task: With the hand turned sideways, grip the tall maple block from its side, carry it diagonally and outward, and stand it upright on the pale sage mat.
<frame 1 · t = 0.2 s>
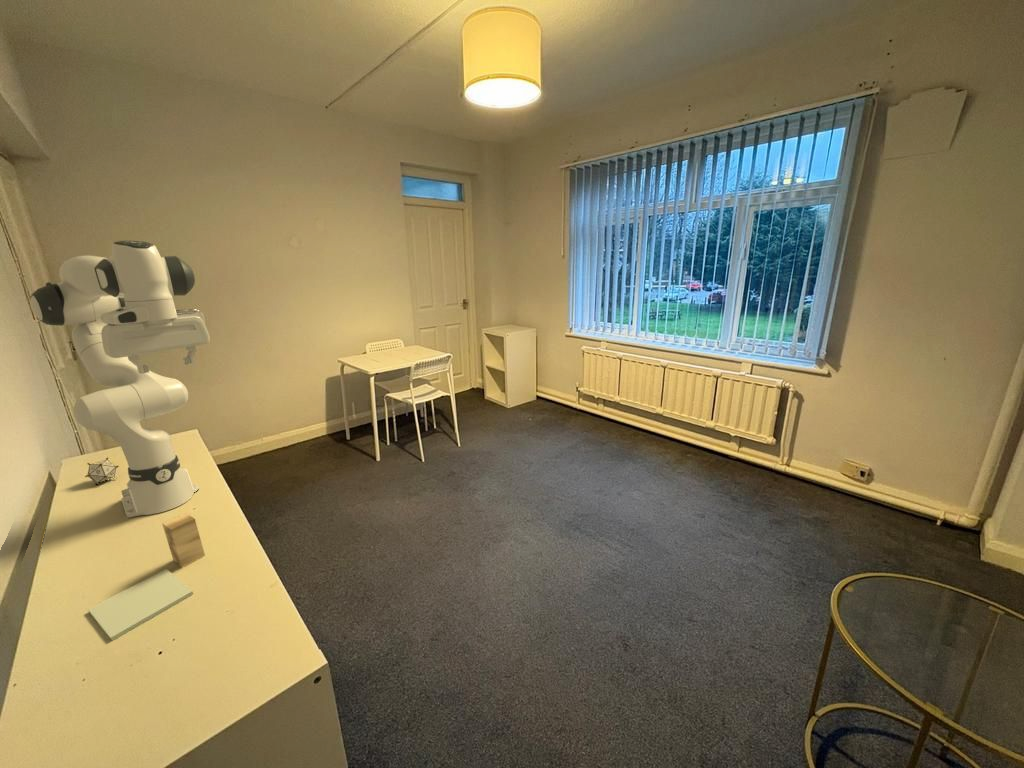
hand: (167, 368, 102), 47 cm above the sideboard, tool pointing down, fingers open, 8 cm apart
maple block: (189, 558, 105), on the sideboard
sage mat: (142, 602, 91), on the sideboard
game die: (105, 482, 145), on the sideboard
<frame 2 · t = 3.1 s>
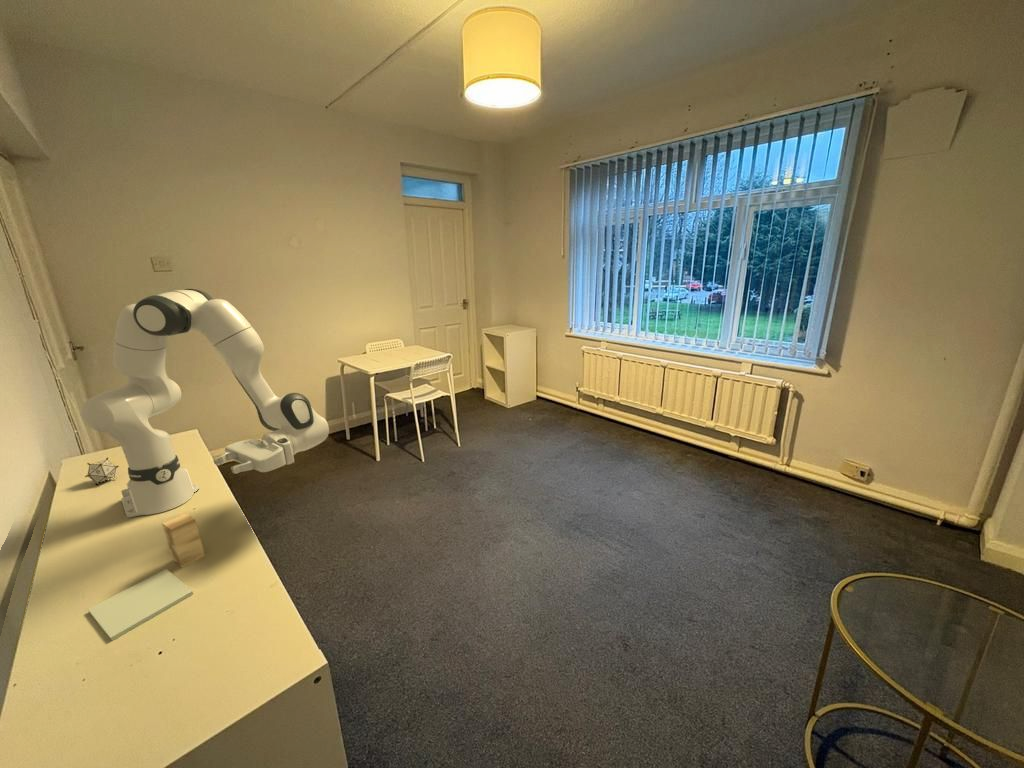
hand: (223, 466, 109), 20 cm above the sideboard, tool horizontal, fingers open, 8 cm apart
nothing on the sideboard moved.
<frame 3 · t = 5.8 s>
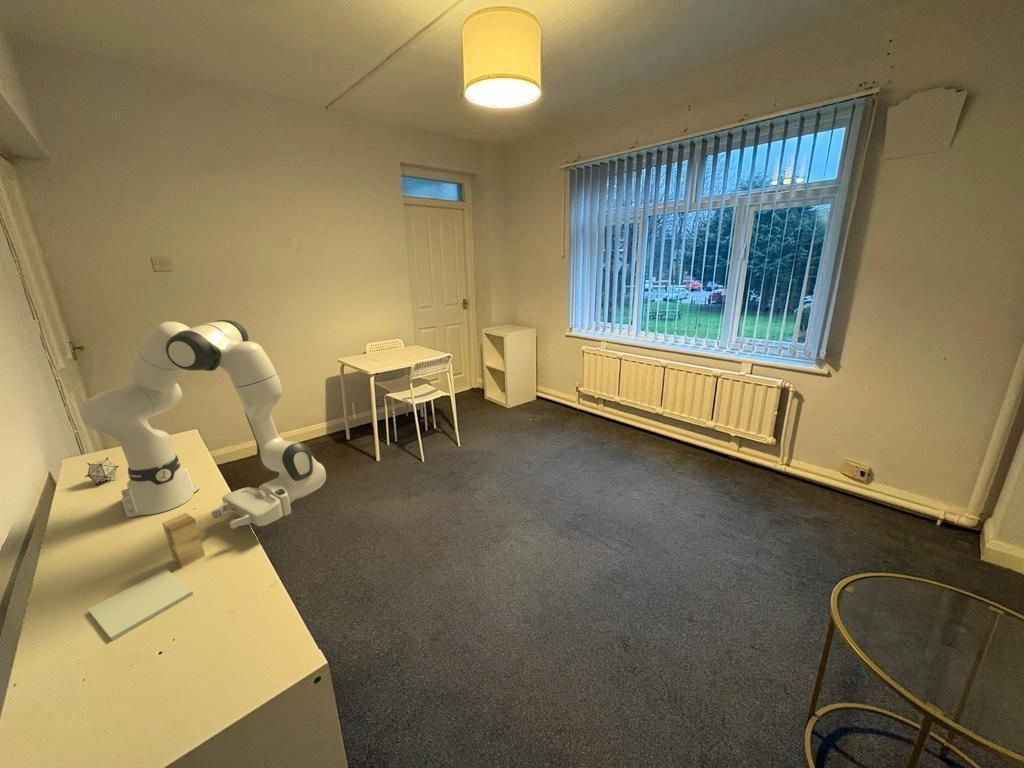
hand: (221, 520, 110), 6 cm above the sideboard, tool horizontal, fingers open, 8 cm apart
nothing on the sideboard moved.
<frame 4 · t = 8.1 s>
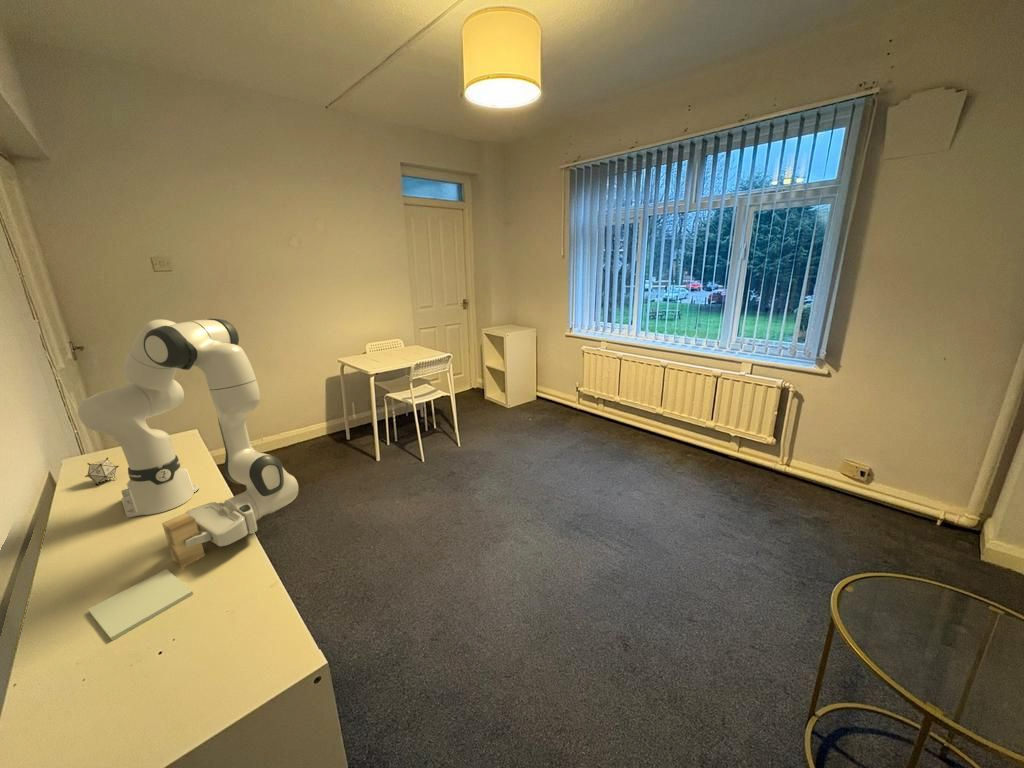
hand: (179, 539, 102), 6 cm above the sideboard, tool horizontal, fingers closed on maple block, 5 cm apart
maple block: (189, 558, 105), on the sideboard, touching gripper
everything else where it was.
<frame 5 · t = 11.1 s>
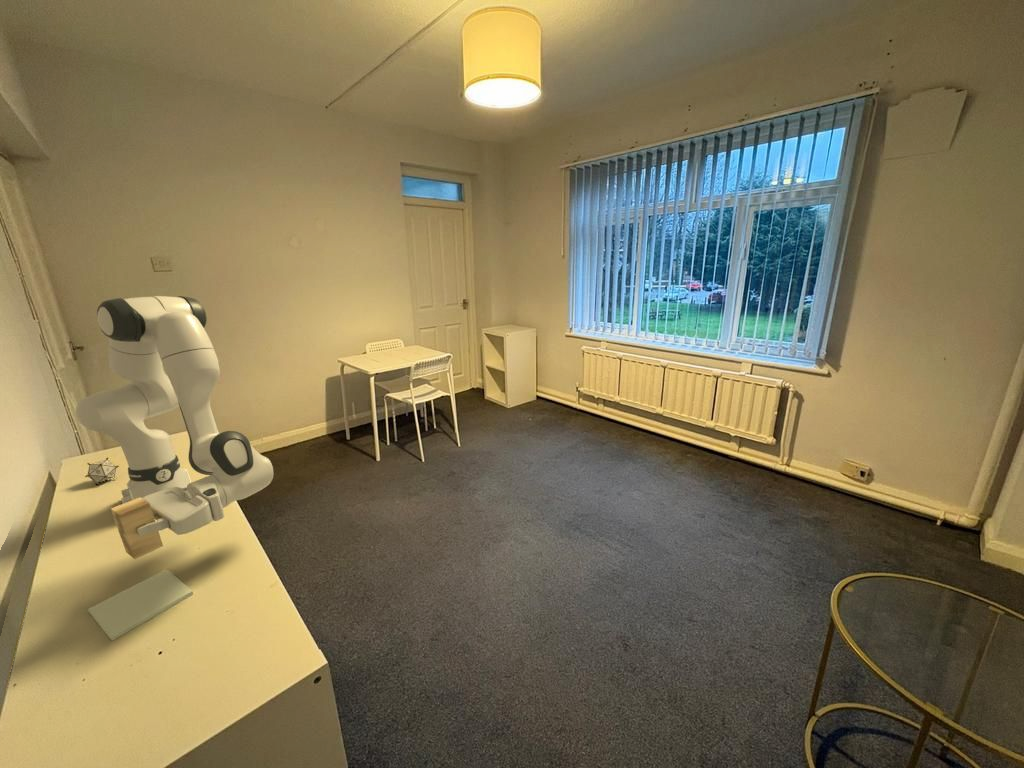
hand: (131, 527, 89), 17 cm above the sideboard, tool horizontal, fingers closed on maple block, 5 cm apart
maple block: (144, 549, 91), point 11 cm above the sideboard, touching gripper
everything else where it was.
when the fingers open (8 cm above the sideboard, at t = 13.9 s): maple block drops 1 cm, resting on sage mat.
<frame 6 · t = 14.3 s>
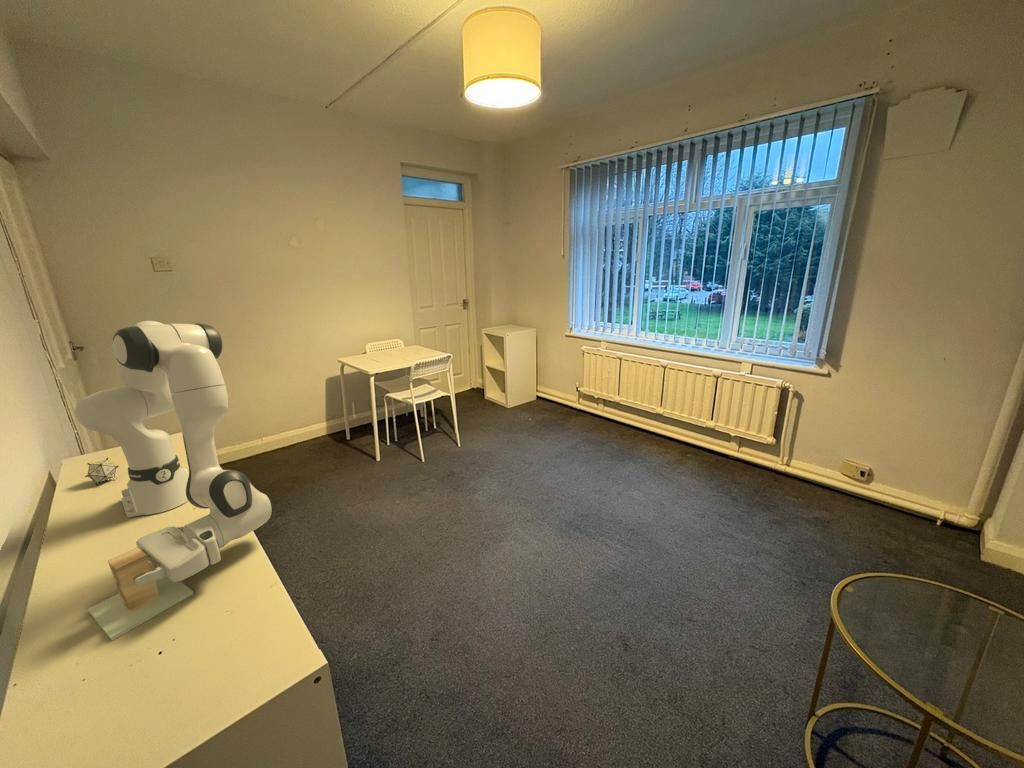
hand: (126, 574, 88), 8 cm above the sideboard, tool horizontal, fingers open, 8 cm apart
maple block: (141, 599, 91), point 1 cm above the sideboard, touching sage mat
everything else where it was.
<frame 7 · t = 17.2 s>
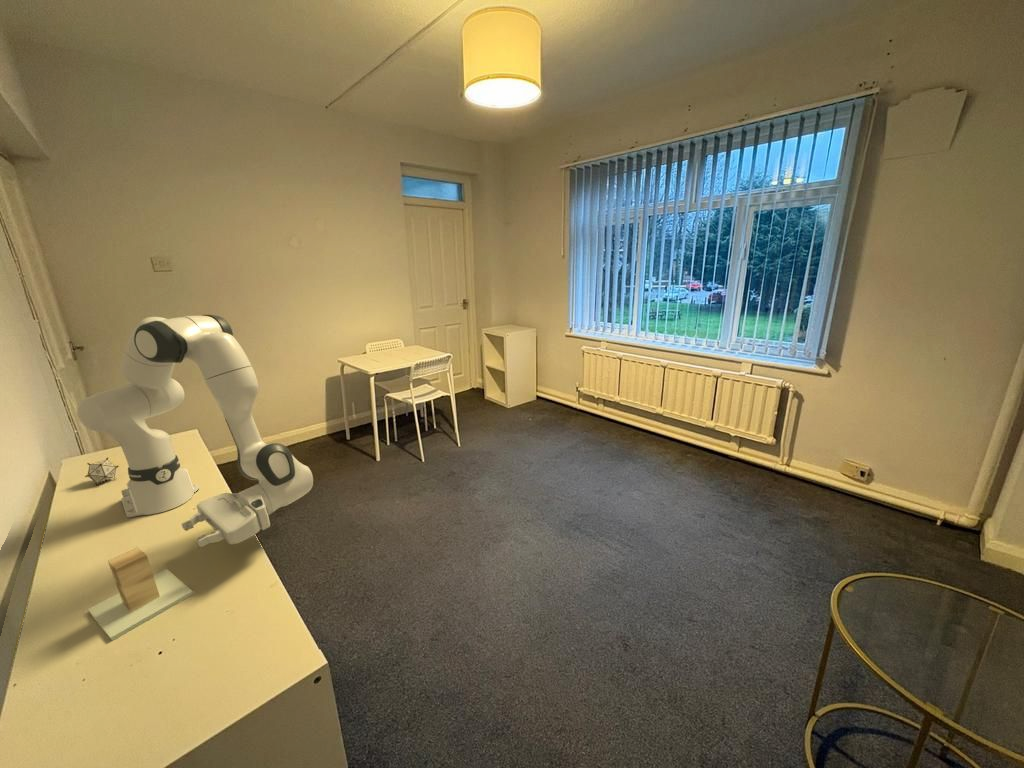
hand: (190, 535, 98), 10 cm above the sideboard, tool horizontal, fingers open, 8 cm apart
nothing on the sideboard moved.
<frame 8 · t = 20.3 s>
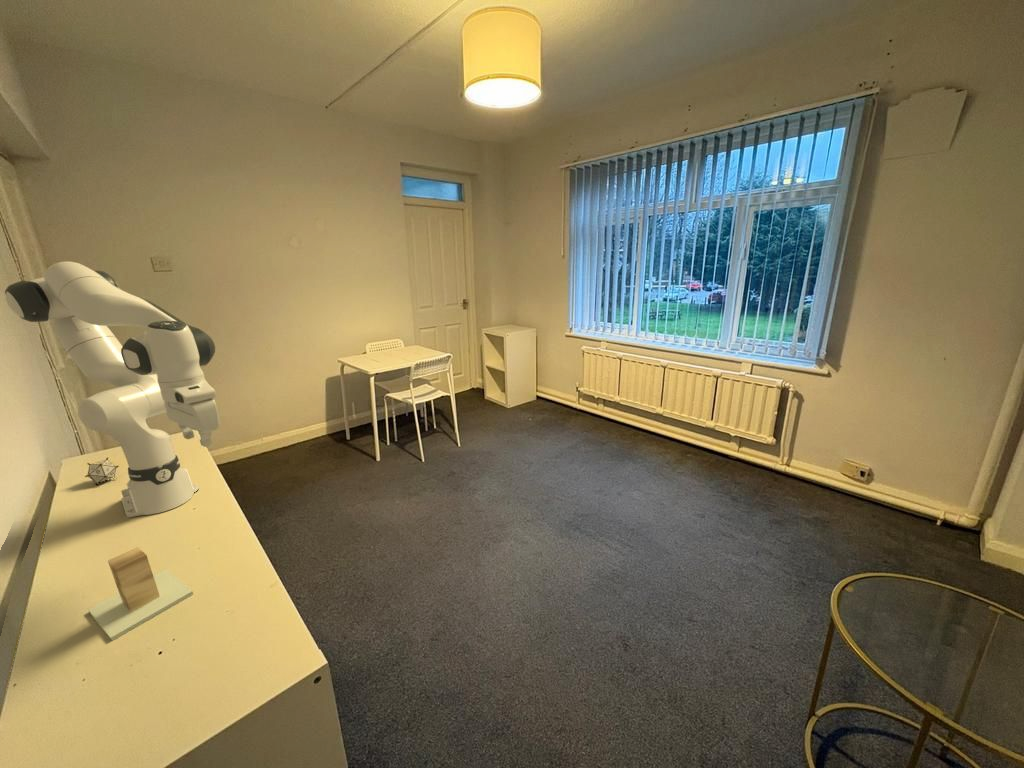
hand: (197, 441, 103), 29 cm above the sideboard, tool pointing down, fingers open, 8 cm apart
nothing on the sideboard moved.
at the end: maple block inside the target area on the sage mat (0.1 cm from its centre), point 0.8 cm above the sage mat's base; maple block tilted 0°; the gripper is holding nothing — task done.
